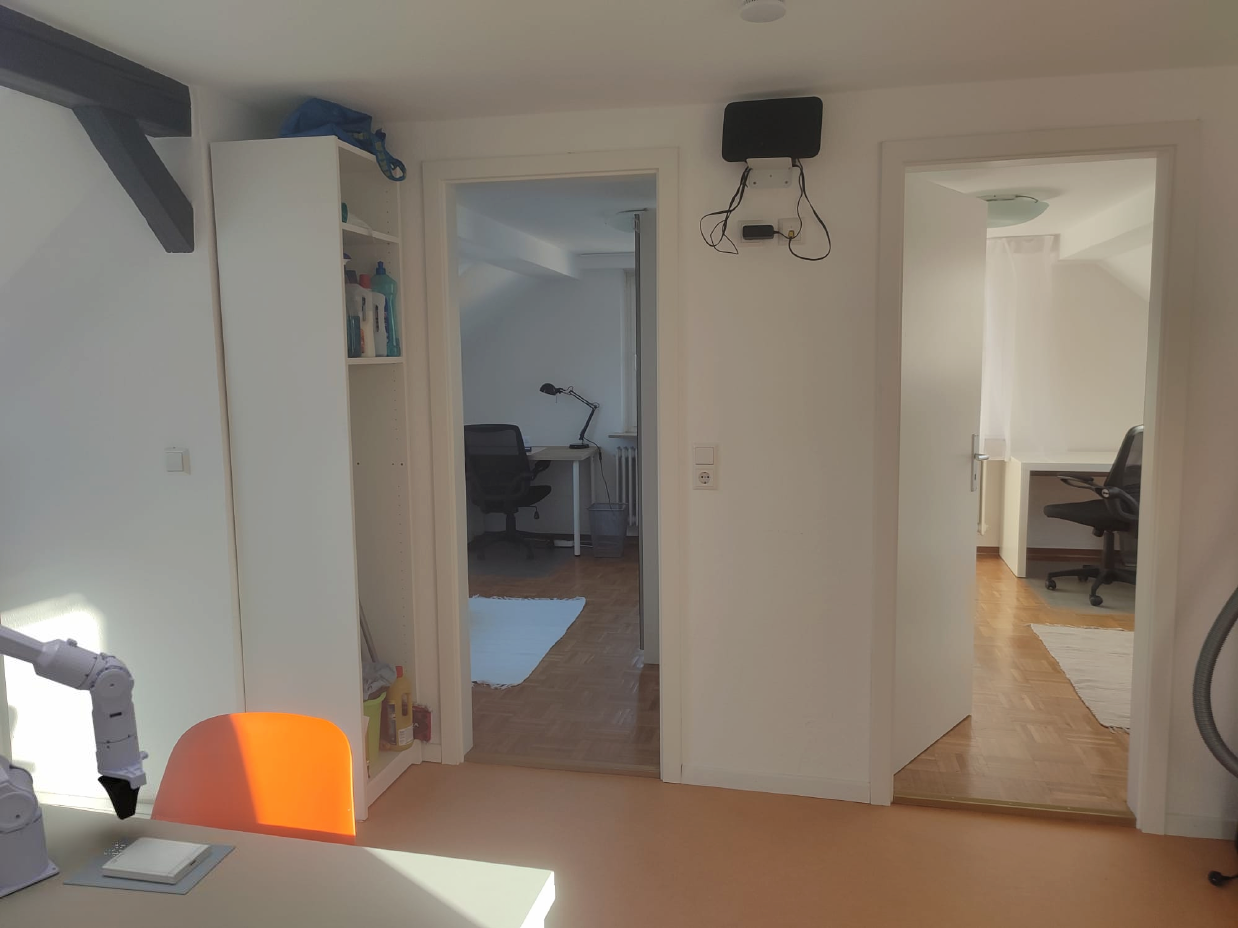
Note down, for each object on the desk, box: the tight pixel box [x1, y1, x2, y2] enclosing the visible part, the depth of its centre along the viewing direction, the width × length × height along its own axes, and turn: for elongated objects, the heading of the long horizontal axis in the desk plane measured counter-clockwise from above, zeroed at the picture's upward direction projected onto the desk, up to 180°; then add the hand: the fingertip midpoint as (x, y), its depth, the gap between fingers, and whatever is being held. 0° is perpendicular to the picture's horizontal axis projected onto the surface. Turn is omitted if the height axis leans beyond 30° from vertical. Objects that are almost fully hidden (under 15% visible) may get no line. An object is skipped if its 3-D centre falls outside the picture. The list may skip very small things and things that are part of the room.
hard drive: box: [102, 836, 212, 884], centre depth 133 cm, size 2×8×12 cm
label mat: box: [62, 837, 237, 895], centre depth 133 cm, size 20×12×1 cm, turn 80°
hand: (126, 815), depth 139 cm, fingers closed
